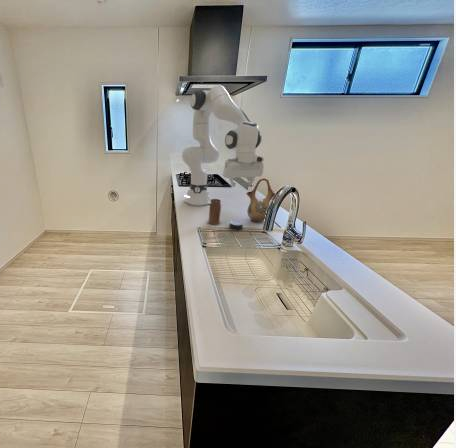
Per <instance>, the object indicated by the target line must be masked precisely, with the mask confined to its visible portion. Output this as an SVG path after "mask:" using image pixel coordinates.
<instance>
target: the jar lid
mask: <svg viewBox="0 0 456 448" xmlns="http://www.w3.org/2000/svg"><path fill="white" fill-rule="evenodd" d="M229 229H231V230H234V231H241V230H242V229H243V222H241V221H238V220H232V221H230V222H229Z"/></svg>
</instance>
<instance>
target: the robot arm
mask: <svg viewBox="0 0 456 448" xmlns="http://www.w3.org/2000/svg"><path fill="white" fill-rule="evenodd" d="M190 107H191V108H192V110H194V111H193V118H192V119H193V120H192V138H193V139H194V140H195V141H197V142H198V144H199V146H190V147H186V148H184V149H183V150H182V154H181V158H182V159H181V160H182V161H183V162H184V164H186V165H187V166H188V168H189V170H190V183H189V189H188V190H187V194H184V195H183V196H184V197H185V198H186V199H185V200H184V203H187V204H188V205H191V206H196V207H198V206H199V207H201V206H206V205H210V203H211V199H210V196H209V194H210V193H209V191H208V171H207V170H206V169H204V168H202V166H201V165H202V164H211V163H215V162H217V161H218V159H219V157H220V150H219V149H218V148H217V147H216V146H215V145H214V143H213V141H212V137H211V115H212V114H213V115H214V116H215V118H217V120H221V121H224V122H225V121H226V122H230V123H233V124H235V125H236V126H237V127H236V128H235V129H232V130H229V131H227V133H226V135H225V138H224V145H225V147H226V148H227V149H228V150H233V151H234V150H236V151H235V157H234V158H227V159H226V161H224V168H223V173H222V176H223V178H226V179H228V180H229V182H230V187H231V188H235V187H236V184H237V183H236V182H234V181H235V179H237V178H238V179H241V178H249V181H247V186H249V187H251V186H253V182H254V181H255V180H256V178H257V177H258V178H260V177H262V176H263V173H264V163H263V162H264V161H265V157H264V156H260V155H257V154H256V153H257V151H256V150H257V148H258V147H259V146H260V145H261V143H262V134H261V132H260V130H259V124H258V123H256V122H252V121H250V119H249V118H248V116H247V115H246V113H245V112H244V111H243V109H241V107H239V106H238V105H236V103H235V102H234V101H233V99H232V98H231V96H230V94H229V92H228V91H227V90H226V88H225V87H224V86H223V85H221V84H216V85H213V86H212V87H211V88H210V89H207V90H206V89H205V90H204V89H203V90H201V89H198V90H195V91H194V92H193V93H191V96H190Z"/></svg>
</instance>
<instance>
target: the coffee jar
mask: <svg viewBox="0 0 456 448" xmlns="http://www.w3.org/2000/svg"><path fill="white" fill-rule="evenodd" d="M210 202H211V203H210V204H209V209H208V221H207V224H209V225H214V226H216V225H219V224H220V220H221V211H222V204H221V199H218V198H212V199H210Z"/></svg>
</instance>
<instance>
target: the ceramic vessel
mask: <svg viewBox="0 0 456 448" xmlns="http://www.w3.org/2000/svg"><path fill="white" fill-rule="evenodd" d="M262 181H264V182H266V186H267V194H266V196H265V197H264V198H262V199H258V198H257V197H256V192H257V189H258V187H259V185H260V184H261V182H262ZM275 194H276V193H275V192H274V191H273V190H272V187H271V185H270V180H269V179H267V178H265V177H263V178H260V179H259V180H258V181H257V182H256V184H255V186H254V187H253V190H250V191H247V192H246V196H247V197H248V198H249V200H250V201H249V205H248V206H247V210H246V211H247V217H248V218H249V219H250V220H251V221H252V222H255V223H260V222H263V221H265V220H266V219H265V215H266V211H267V209H268V207H269V206H270V202H271V200H272V199H273V198H274V197H275V196H276V195H275ZM264 219H265V220H264Z"/></svg>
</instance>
